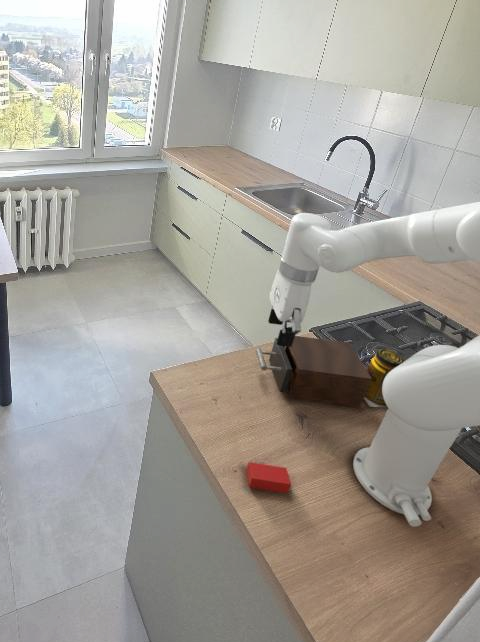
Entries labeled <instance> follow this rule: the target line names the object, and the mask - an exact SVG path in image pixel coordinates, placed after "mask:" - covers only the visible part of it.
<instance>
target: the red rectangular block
mask: <svg viewBox="0 0 480 642" xmlns="http://www.w3.org/2000/svg"><path fill="white" fill-rule="evenodd" d="M245 473H246V478H247V483H248V487H249V488H252V489H259V490H264V491H271V492H277V493H284V494H288V493H289V491H290V489H291V486H292V483H291V480H290V476H289V473H288V470H287V467H283V466H277V465H270V464H264V463H263V464H262V463H257V462H250V461H248V463H247V466H246V470H245Z"/></svg>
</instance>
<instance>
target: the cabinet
mask: <svg viewBox="0 0 480 642" xmlns="http://www.w3.org/2000/svg"><path fill="white" fill-rule="evenodd" d="M283 347H284V348H285V346H283ZM288 348H289V351H290V353H291V356H292V358H293V360H294V363H295V365H296V368H297V371H296V374H295V377H294V380H293V384H292V387H291V390H290V388H289V385H287V388H286V393H287V396H288V398H289V399H290V400H299V401H305V402H313V403H320V404H327V405H335V406H336V405H337V406H342V407H349V408H357V409H360V408H361V406H362V403H363V401H364V400H365V399H364V397H365V394H366V392H367V390H368V387H369V385H370V383H371V380H372V378H371V376H370V375H369V373H368V371H367V368H366V366H365V364H364V363H363V361H362V360H361V358H360V356H359V355H358V352H357V351H356V350H355V349H354V347H353V345H352V344H351V342H350V341H349V342H348V341H341V340H333V339H332V340H331V339H324V338H317V337H309V336H300V335H295V337H294V340H293V344H292V346H291V347H288Z"/></svg>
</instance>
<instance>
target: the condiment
mask: <svg viewBox="0 0 480 642" xmlns="http://www.w3.org/2000/svg"><path fill="white" fill-rule="evenodd" d="M369 362H370V363H369V364H368V367H367V368H366V370H367V371H368V373H369V375H370V376H371V378H372V380H371V383H370V385H369V387H368V390H367V392H366V394H365V397H364V399H363V400H364V401H365V402H366V403H367V405H368V406H369V407H370V408H388V407H387V405H386V403H385V401H384V398H383V394H382V385H383V381H384V379H385V377H386V375H387V374H388V373H389V372H390V371H391V370H393V369H394V368H395V367H397V366H398V365H400V364H402V363H403V362H404V359H403V357H402V356H401V355H400V354H398V353H397V352H395V351H393V350H391V349H388V348H380V349H377V350H376V353H375V355H374V357H372V358H371V360H370V361H369Z"/></svg>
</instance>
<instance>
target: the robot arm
mask: <svg viewBox="0 0 480 642" xmlns="http://www.w3.org/2000/svg"><path fill="white" fill-rule="evenodd" d="M402 257H403V258H404V257H416V258H418V259H419V260H420V261H422V262H424V263H426V264H431V265H436V264H437V265H438V264H449V263H457V262H469V261H473V262H475V263H476V264H478V265H479V266H480V201H476V202H475V201H474V202H470V203H466V204H459V205H454V206H448V207H444V208H443V207H442V208H438V209H432V210H427V211H421V212H416V213H411V214H409V215H403V216H397V217H392V218H386V219H380V220H376V221H369V222H364V223H359V224H355V225H351V226H348V227H345V228H341V229H339V230H332V225H331V223H330V221H329V220H328V219H327V218H325V217H323V216H321V215H319V214H315V213H310V212H300V213H296V214H295V215H294V216H293V217H292V218H291V220H290V224H289V227H288V230H287V235H286V238H285V242H284V246H283V250H282V254H281V258H280V261H279V265H278V268H277V272H276V274H275V277H274V280H273V282H272V286H271V289H270V292H269V301H270V303H271V309H270V313H269V317H268V320H267V322H268V324H271V325H278V326H281V327H282V328H281V329H279V332H278V335H277V338H278V339H277V345H279V346H287V347H291V346H292V344H293V340H294V337H295V336H297V334H299V333H300V332H302V324H301V323H302V322H303V321H304V319H305V316H306V313H307V309H308V305H309V301H310V297H311V291H312V285H313V284H314V283H315V282H316V279H317V276H318V273H319V270H320V267H321V268H323V269H324V270H326V271H328V272H330V273H336V274H339V273H344V272H347V271H349V270H353V269H355V268H357V267H360V266H362V265H364V264H367V263H370V262H372V261H378V260H383V259H392V258H402ZM288 323H290V324H291V323H292V324H291V325H292V326H288ZM382 394H383V398H384V401H385V403H386V405H387V407H386V408H387V410H386V411H385V413H384V416H383V419H382V421H381V423H380V425H379V427H378V429H377V431H376V433H375V435H374V438H373V440H372V442H371V444H370V446H369V447H368V446H366V447H362V448H360V449H359V450H358V451H357V452H356V453H355V455H354V457H353V461H352V467H353V471H354V475H355V477H356V479H357V480H358V482H359V483H360V485H361V486H362V487H363V489H364V490H365V491H366V492H367V493H368V494H369V495H370V496H371V497H372V498H373V499H374V500H375V501H377V502H378V503H380V504H381V505H382V506H384V507H386V508H388V509H389V510H391V511H393V512H395V513H397V514H401V515H404V517H405V519H406V521H407V523H408V525H409V526H410V527H413V528H414V527H420V526H421V525H422V523H423V522H422V521H421V519H422V520H423V521H425V522H427V521H430V520H432V517H431V514H430V513H429V509H430V507H431V505H432V501H433V499H432V493H431V489H430V487H429V484H430V482H431V481H432V479H433V478H434V476H435V474H436V472H438V471H437V470H438V469H439V467H440V465H441V464H442V462H443V460H444V459H445V457H446V455H447V454H448V452H449V450H450V448H451V447H452V446H453V444H454V443H455V441H456V440H457V437H458V436H459V434H460V432H461V431H462V430H463V429H465V428H473V427H478V426H479V427H480V334H478V335H476V336H475V337H473V338H472V339H470V340H469V341H467V342H466V343H465V344H463V345H462V346H460V347H457V346H454V345H450V344H435V345H430V346H427V347H424V348H423V349H421V350H419V351H418V352H415V354H412V355H411V356H410V357H408V358H407V359H406V360H405V361H403V363H402V364H400V365H398V366H397V367H395V368H394V369H393V370H391V371H390V372H389V373H388V374H387V375H386V377H385V379H384V381H383V385H382ZM420 517H421V519H420Z"/></svg>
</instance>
